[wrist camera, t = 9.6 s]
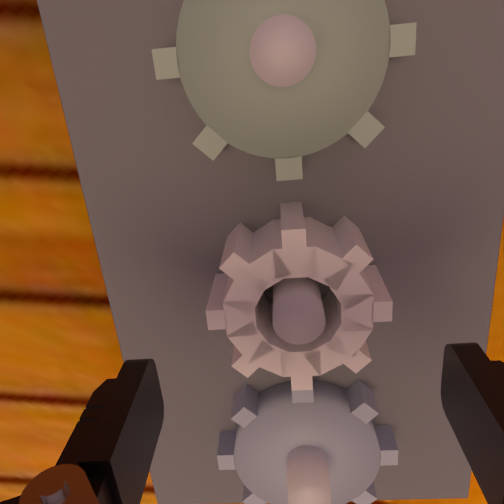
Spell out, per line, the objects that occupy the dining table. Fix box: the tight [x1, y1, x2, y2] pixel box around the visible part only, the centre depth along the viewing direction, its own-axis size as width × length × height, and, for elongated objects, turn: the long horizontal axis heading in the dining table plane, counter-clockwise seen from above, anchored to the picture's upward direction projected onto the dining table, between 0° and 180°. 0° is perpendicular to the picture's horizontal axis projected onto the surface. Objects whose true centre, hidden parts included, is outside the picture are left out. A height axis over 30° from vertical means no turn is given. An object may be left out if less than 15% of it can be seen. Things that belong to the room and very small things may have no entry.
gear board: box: [37, 0, 504, 504], centre depth 18 cm, size 26×16×5 cm, turn 5°
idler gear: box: [205, 201, 393, 391], centre depth 18 cm, size 6×6×3 cm
